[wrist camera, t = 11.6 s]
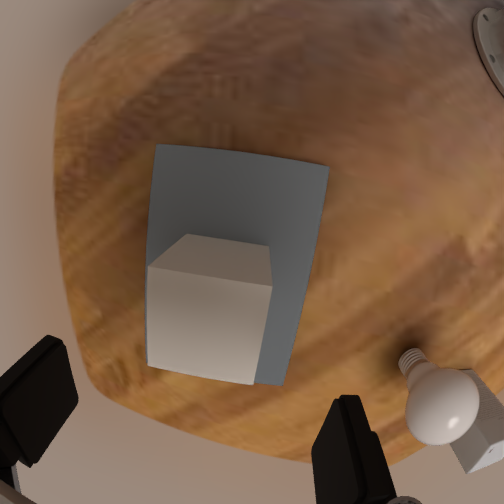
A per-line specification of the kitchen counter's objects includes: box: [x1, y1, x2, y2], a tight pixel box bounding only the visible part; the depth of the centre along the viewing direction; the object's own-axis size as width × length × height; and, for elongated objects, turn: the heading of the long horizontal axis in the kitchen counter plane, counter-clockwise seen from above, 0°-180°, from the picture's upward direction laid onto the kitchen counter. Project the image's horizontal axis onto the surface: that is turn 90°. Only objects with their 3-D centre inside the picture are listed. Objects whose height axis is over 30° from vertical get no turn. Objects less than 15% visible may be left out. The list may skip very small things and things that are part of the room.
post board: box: [145, 144, 330, 386], centre depth 19 cm, size 18×12×8 cm, turn 172°
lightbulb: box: [398, 348, 480, 446], centre depth 19 cm, size 6×6×11 cm
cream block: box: [147, 234, 273, 385], centre depth 18 cm, size 6×6×8 cm
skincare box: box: [449, 369, 504, 474], centre depth 20 cm, size 6×4×12 cm
